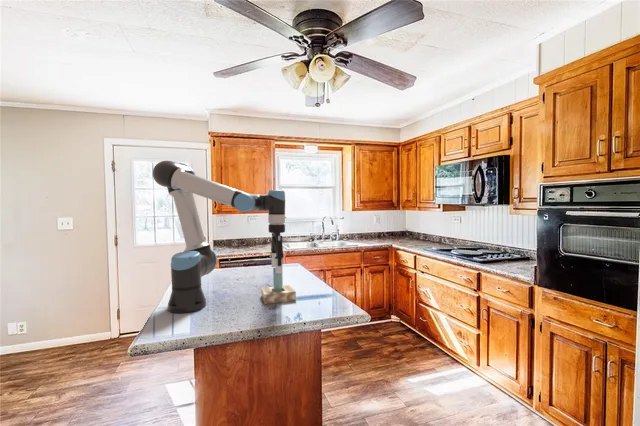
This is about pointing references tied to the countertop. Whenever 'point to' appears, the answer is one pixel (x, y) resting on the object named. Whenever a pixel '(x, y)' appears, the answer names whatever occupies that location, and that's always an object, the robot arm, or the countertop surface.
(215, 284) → the countertop surface
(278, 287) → the dowel
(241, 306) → the countertop surface
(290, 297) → the socket block
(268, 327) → the countertop surface
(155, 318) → the countertop surface
